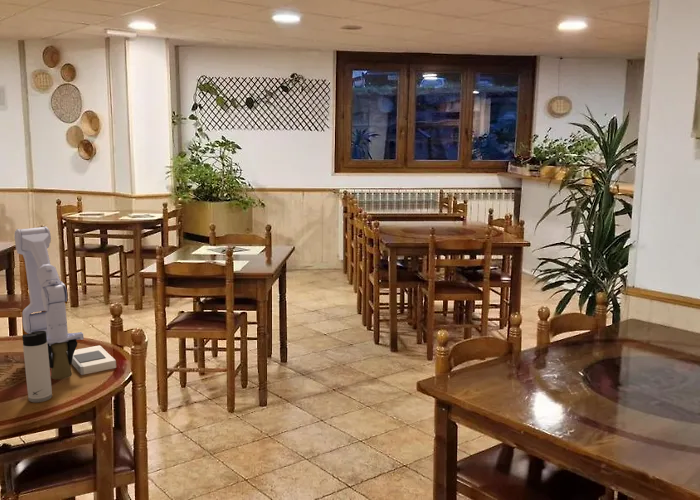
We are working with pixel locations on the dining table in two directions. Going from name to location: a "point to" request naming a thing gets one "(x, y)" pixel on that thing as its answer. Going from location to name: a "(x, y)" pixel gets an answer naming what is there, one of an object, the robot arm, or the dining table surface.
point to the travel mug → (37, 366)
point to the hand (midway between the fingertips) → (60, 365)
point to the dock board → (95, 364)
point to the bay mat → (89, 356)
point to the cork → (60, 361)
